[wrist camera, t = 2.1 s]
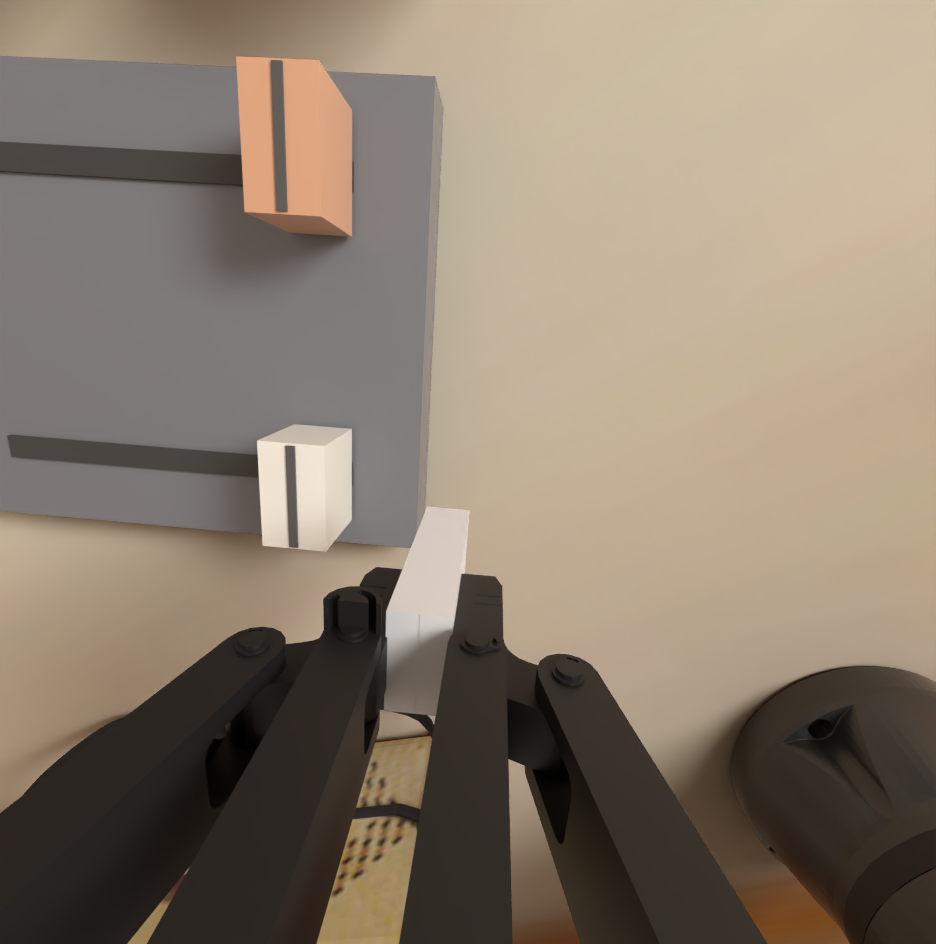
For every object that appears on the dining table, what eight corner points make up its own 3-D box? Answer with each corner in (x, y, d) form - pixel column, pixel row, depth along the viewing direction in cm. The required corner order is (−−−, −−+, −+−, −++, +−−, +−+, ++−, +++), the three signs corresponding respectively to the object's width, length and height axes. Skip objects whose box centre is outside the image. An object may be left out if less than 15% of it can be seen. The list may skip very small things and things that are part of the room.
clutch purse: (453, 664, 32) (415, 929, 18) (475, 748, 34) (456, 1050, 20) (63, 719, 36) (-231, 978, 22) (101, 793, 38) (-147, 1077, 23)
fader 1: (352, 236, 22) (320, 215, 18) (288, 232, 22) (243, 211, 19) (352, 110, 21) (317, 58, 17) (284, 106, 21) (234, 54, 17)
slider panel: (423, 527, 30) (415, 550, 27) (17, 491, 31) (-36, 509, 28) (443, 108, 24) (434, 74, 20) (-64, 82, 25) (-144, 47, 22)
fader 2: (351, 519, 26) (325, 552, 22) (297, 514, 26) (261, 546, 22) (351, 428, 25) (323, 446, 21) (294, 424, 25) (255, 441, 21)
